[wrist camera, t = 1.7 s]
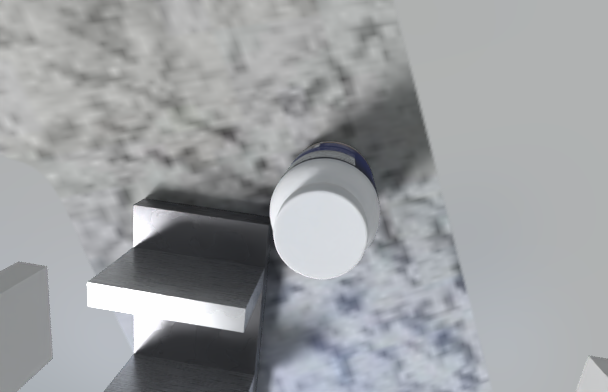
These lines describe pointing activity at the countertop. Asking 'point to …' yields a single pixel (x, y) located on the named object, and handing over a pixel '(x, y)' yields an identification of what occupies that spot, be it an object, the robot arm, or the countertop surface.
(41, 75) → the countertop surface
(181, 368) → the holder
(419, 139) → the countertop surface
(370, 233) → the pill bottle
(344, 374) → the countertop surface
